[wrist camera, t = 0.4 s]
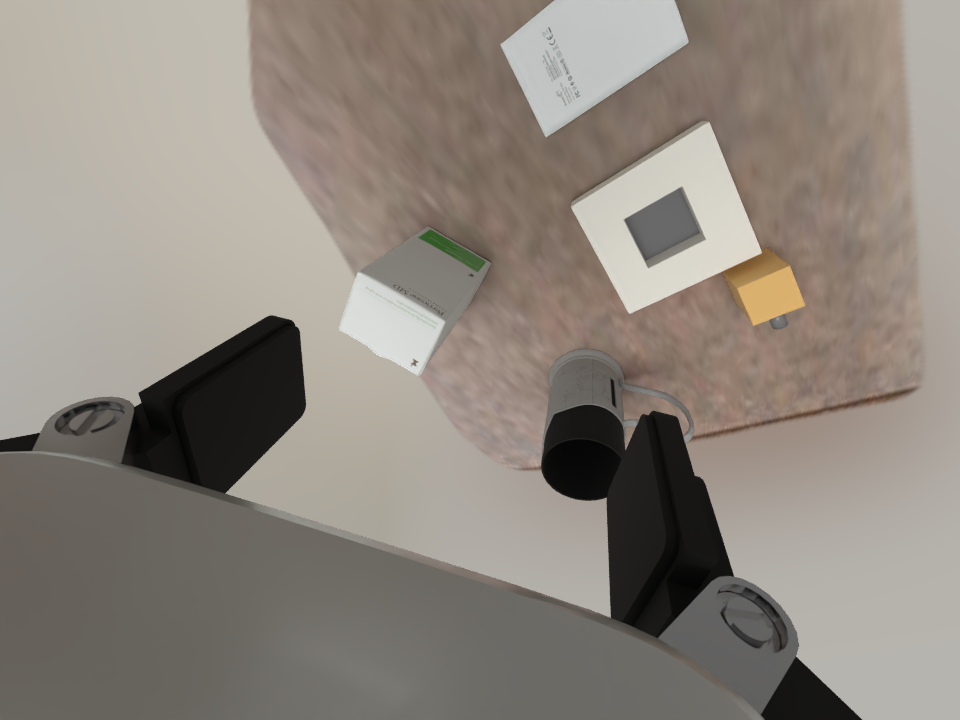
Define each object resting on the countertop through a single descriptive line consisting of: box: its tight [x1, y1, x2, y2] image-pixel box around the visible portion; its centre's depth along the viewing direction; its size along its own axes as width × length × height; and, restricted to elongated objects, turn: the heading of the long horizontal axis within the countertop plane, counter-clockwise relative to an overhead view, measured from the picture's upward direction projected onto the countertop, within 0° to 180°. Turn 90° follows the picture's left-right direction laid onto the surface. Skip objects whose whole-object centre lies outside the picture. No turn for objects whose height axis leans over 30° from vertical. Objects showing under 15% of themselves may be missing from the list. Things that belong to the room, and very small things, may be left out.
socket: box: [571, 121, 762, 314], centre depth 39 cm, size 12×12×3 cm
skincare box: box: [338, 226, 491, 376], centre depth 41 cm, size 8×7×16 cm
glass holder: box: [541, 349, 694, 501], centre depth 43 cm, size 9×14×15 cm, turn 115°
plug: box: [722, 248, 805, 329], centre depth 38 cm, size 6×4×6 cm
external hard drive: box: [501, 0, 689, 137], centre depth 34 cm, size 2×8×12 cm
